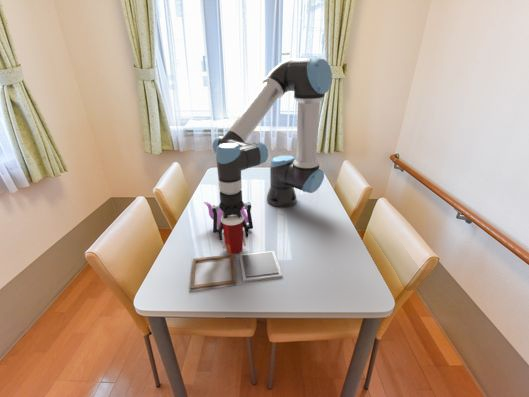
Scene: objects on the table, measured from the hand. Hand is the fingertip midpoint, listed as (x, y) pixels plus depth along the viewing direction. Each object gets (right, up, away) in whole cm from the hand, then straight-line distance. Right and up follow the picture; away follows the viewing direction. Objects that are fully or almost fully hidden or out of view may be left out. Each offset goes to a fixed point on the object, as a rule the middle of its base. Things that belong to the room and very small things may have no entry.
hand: (234, 244), depth 100 cm
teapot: (-4, +5, +15) cm, 16 cm away
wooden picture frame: (-6, -7, -10) cm, 14 cm away
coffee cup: (0, -2, +1) cm, 2 cm away
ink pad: (+10, -6, -7) cm, 14 cm away
